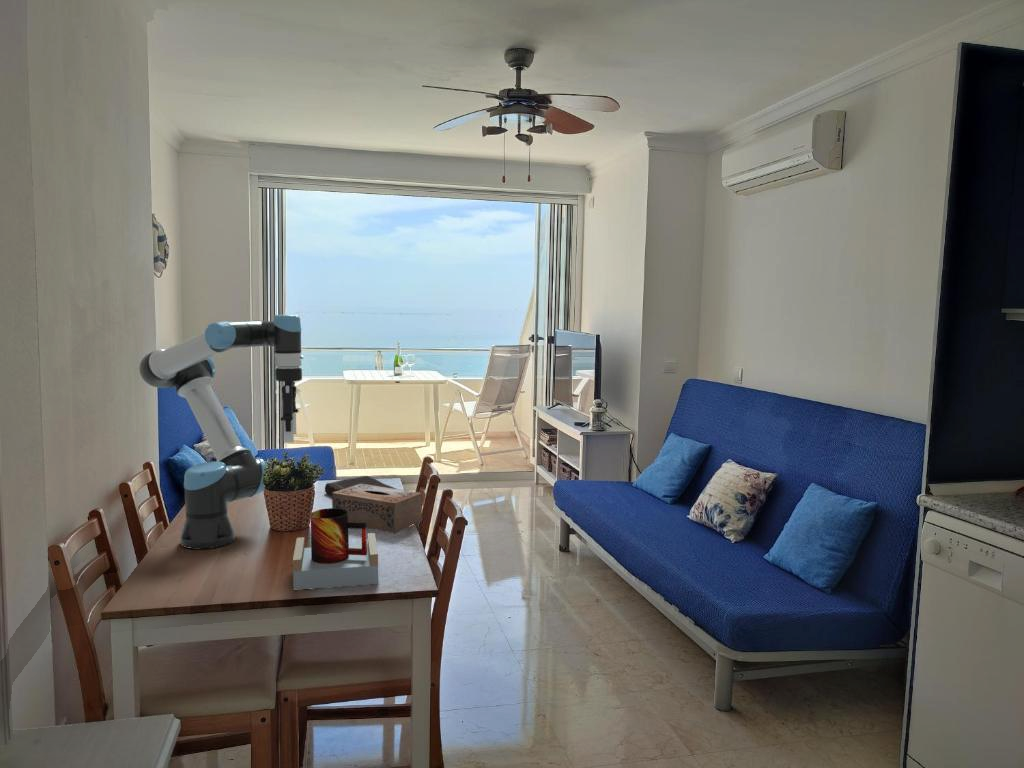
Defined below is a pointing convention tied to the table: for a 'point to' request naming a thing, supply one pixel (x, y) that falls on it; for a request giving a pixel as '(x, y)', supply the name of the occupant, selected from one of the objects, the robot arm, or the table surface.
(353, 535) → the table surface
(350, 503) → the tissue box cover
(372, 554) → the notched stand
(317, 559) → the mug
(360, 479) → the diary
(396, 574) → the table surface
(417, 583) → the table surface
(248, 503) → the table surface
